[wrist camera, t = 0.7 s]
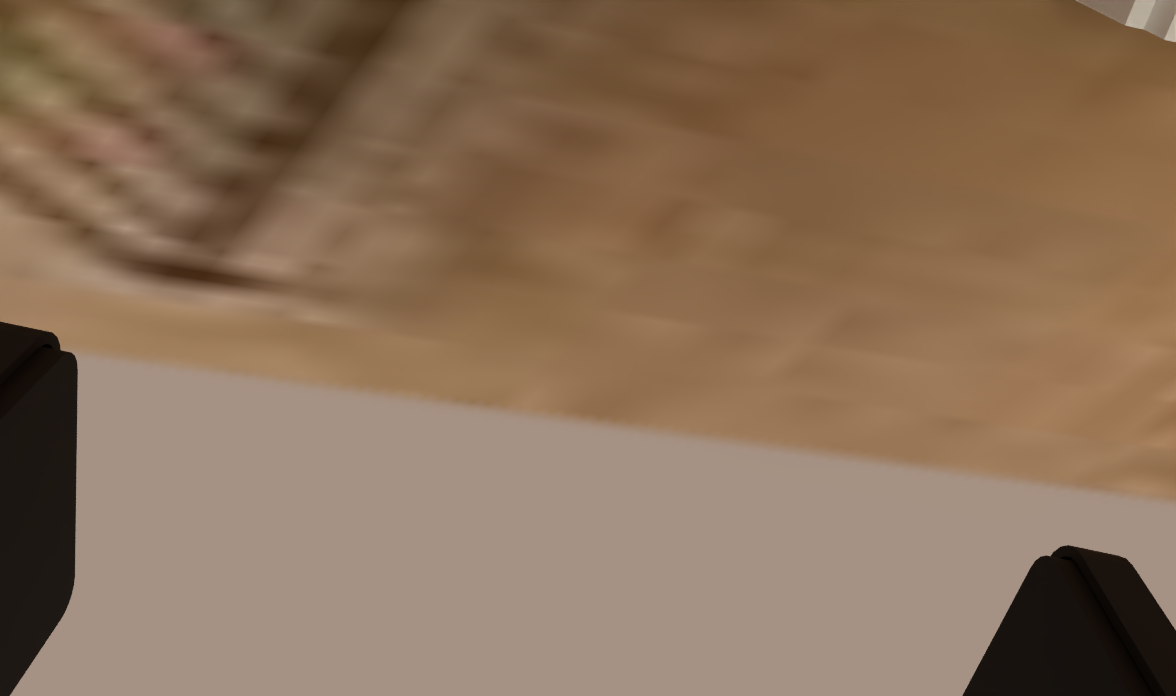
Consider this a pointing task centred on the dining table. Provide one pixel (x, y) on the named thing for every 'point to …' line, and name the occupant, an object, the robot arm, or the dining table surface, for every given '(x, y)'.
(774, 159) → the dining table surface
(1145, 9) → the stepped cream block
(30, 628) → the robot arm
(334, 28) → the dining table surface
